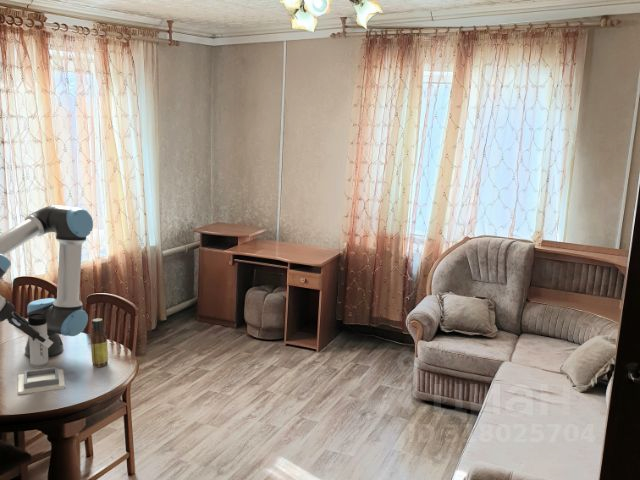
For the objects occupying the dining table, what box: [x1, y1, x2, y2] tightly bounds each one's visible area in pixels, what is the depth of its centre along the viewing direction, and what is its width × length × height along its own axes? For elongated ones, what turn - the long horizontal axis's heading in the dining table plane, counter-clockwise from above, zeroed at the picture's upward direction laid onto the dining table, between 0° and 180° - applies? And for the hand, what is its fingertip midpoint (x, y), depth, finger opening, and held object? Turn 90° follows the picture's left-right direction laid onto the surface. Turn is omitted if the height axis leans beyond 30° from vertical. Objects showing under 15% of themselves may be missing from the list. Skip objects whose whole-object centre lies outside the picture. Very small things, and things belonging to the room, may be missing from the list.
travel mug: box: [26, 314, 49, 369], centre depth 227 cm, size 6×7×20 cm
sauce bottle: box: [90, 317, 109, 368], centre depth 247 cm, size 7×6×20 cm
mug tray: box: [17, 366, 66, 396], centre depth 231 cm, size 16×16×3 cm
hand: (48, 342), depth 230 cm, fingers closed on travel mug, 6 cm apart
